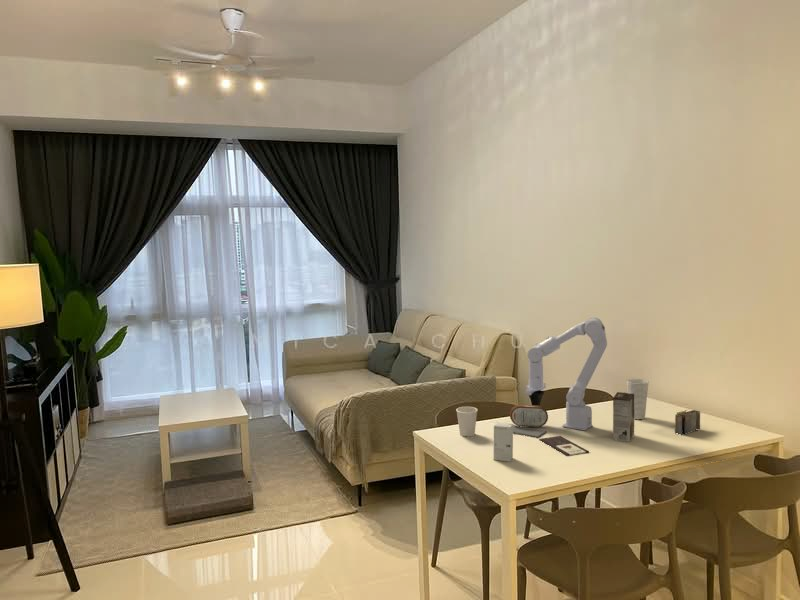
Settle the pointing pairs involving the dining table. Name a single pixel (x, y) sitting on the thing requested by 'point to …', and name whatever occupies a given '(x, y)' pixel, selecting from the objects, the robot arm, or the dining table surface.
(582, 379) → the robot arm
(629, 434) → the coffee box
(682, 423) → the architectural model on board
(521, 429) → the mat
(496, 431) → the skincare box
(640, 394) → the cup
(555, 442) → the chocolate bar
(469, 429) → the dixie cup
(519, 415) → the tin
